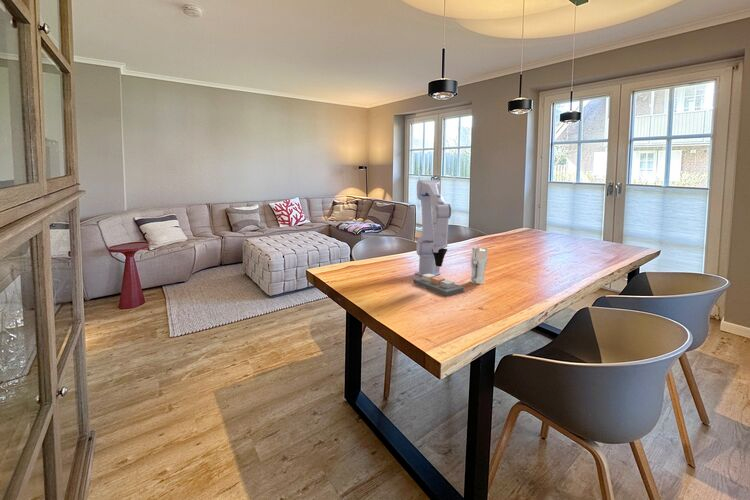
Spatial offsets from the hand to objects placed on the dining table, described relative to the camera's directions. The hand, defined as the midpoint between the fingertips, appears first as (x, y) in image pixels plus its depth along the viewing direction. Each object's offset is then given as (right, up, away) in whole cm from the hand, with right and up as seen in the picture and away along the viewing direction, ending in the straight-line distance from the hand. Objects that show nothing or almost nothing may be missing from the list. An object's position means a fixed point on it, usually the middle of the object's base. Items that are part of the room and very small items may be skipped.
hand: (438, 266), depth 155 cm
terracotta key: (0, -8, +2) cm, 8 cm away
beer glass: (+19, -8, +11) cm, 23 cm away
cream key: (-3, -7, +6) cm, 10 cm away
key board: (0, -9, +2) cm, 9 cm away
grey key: (+3, -9, -3) cm, 10 cm away
